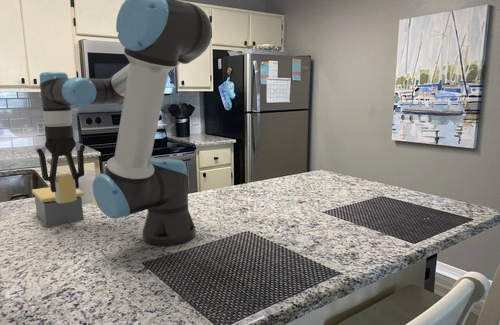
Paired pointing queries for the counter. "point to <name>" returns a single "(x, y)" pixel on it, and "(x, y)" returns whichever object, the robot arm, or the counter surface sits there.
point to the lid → (64, 190)
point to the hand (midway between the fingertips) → (66, 200)
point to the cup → (86, 185)
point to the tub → (59, 212)
